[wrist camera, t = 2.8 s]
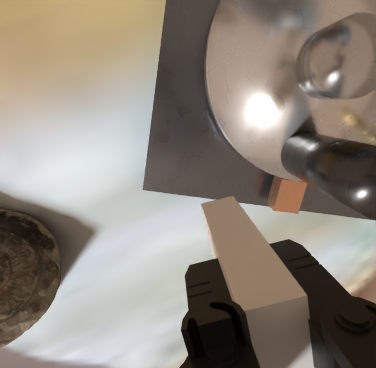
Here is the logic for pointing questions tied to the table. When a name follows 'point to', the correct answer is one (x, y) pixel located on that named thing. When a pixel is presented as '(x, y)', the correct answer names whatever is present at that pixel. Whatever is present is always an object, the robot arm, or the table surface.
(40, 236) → the fossil
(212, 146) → the clock base
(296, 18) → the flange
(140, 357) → the table surface
